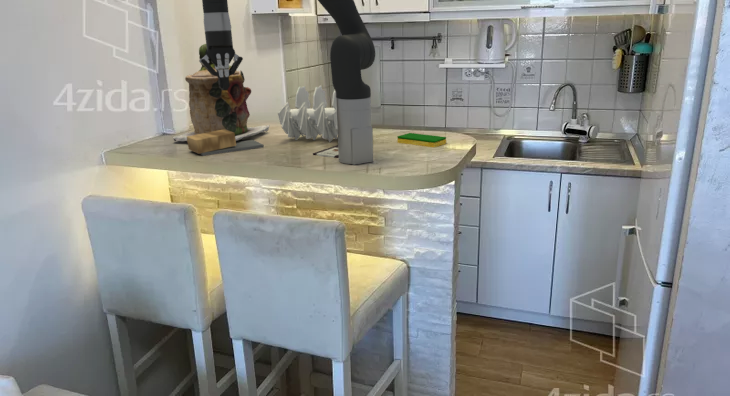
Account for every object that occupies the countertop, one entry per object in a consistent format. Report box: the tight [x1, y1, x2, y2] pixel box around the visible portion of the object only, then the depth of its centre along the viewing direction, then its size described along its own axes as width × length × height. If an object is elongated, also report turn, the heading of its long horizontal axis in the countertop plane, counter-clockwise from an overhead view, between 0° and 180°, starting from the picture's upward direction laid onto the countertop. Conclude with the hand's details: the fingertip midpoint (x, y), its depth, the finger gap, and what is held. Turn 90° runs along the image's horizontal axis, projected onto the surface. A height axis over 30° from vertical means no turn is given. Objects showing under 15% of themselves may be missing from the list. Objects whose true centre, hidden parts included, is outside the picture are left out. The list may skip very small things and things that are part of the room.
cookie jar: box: [172, 43, 270, 142], centre depth 182 cm, size 25×25×32 cm
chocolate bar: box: [312, 144, 339, 159], centre depth 163 cm, size 9×1×18 cm
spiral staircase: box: [277, 85, 338, 143], centre depth 176 cm, size 18×18×25 cm
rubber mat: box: [198, 139, 265, 157], centre depth 170 cm, size 10×19×1 cm, turn 120°
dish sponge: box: [396, 132, 447, 148], centre depth 170 cm, size 7×14×2 cm, turn 51°
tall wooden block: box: [186, 129, 237, 155], centre depth 166 cm, size 4×8×12 cm
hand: (224, 89), depth 164 cm, fingers closed
